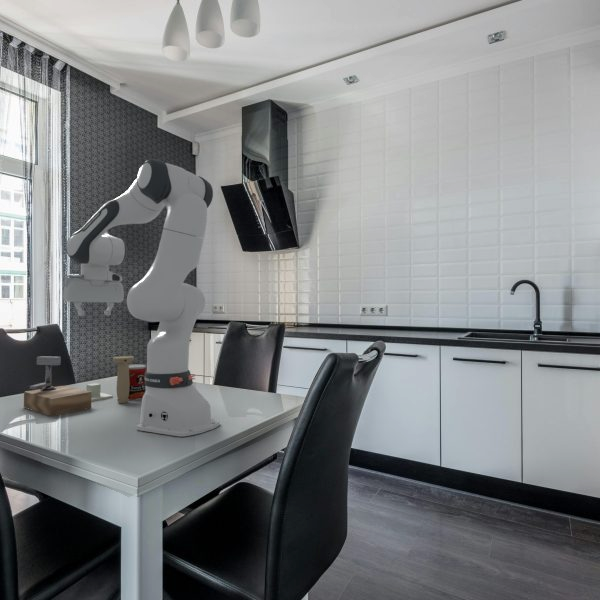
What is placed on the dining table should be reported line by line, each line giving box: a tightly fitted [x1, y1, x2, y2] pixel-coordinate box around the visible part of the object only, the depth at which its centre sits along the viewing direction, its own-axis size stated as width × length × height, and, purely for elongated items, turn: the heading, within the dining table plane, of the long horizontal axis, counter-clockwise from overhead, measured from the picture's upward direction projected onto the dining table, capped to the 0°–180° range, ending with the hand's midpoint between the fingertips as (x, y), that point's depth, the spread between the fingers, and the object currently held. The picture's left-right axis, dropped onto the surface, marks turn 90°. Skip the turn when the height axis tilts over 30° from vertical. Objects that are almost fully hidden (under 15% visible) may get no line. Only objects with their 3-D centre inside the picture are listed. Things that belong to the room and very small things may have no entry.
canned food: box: [128, 363, 147, 400], centre depth 147 cm, size 8×8×11 cm
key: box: [29, 355, 62, 390], centre depth 132 cm, size 8×7×10 cm
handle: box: [112, 355, 135, 404], centre depth 139 cm, size 5×6×15 cm
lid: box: [85, 382, 114, 403], centre depth 145 cm, size 9×9×5 cm
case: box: [23, 385, 92, 417], centre depth 131 cm, size 17×12×5 cm
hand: (94, 315), depth 145 cm, fingers open, 8 cm apart
